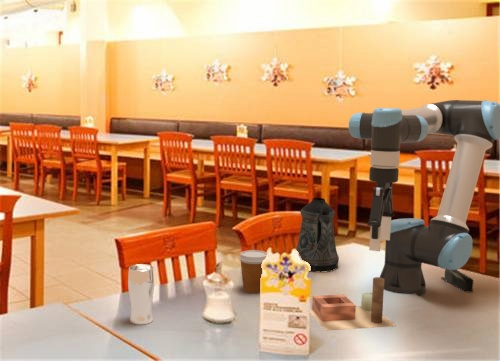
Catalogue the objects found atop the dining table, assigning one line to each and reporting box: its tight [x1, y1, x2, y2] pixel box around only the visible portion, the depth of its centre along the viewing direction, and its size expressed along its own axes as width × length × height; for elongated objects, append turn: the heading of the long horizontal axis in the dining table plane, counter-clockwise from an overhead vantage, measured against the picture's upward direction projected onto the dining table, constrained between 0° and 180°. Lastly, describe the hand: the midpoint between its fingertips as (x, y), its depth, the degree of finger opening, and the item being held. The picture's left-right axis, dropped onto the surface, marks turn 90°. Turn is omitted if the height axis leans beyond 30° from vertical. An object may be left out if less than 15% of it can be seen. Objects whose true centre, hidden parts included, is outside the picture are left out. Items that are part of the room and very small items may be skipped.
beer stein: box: [295, 197, 340, 273], centre depth 224 cm, size 16×19×25 cm
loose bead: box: [360, 292, 372, 311], centre depth 180 cm, size 4×4×4 cm
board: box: [309, 294, 397, 331], centre depth 172 cm, size 20×16×5 cm
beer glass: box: [127, 263, 155, 326], centre depth 168 cm, size 7×7×15 cm
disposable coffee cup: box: [238, 249, 268, 294], centre depth 197 cm, size 10×10×12 cm
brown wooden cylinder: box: [371, 276, 385, 323], centre depth 169 cm, size 3×3×12 cm
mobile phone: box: [441, 269, 474, 293], centre depth 207 cm, size 5×3×15 cm
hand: (379, 245), depth 167 cm, fingers open, 13 cm apart
